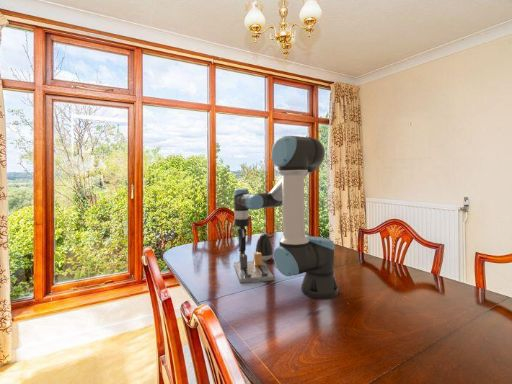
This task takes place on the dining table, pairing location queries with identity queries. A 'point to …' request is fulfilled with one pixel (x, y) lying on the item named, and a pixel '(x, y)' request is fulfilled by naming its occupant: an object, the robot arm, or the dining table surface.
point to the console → (253, 272)
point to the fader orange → (257, 258)
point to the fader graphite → (243, 261)
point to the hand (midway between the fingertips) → (242, 262)
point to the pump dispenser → (264, 246)
